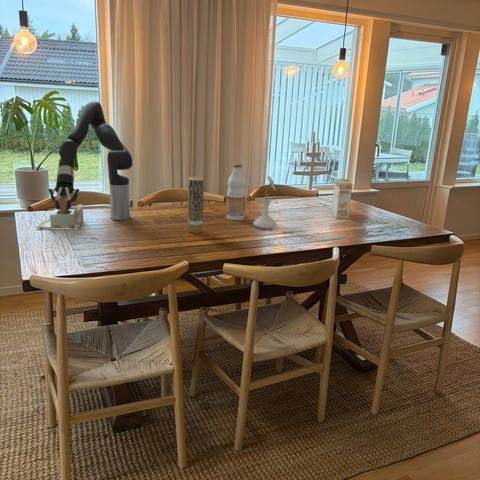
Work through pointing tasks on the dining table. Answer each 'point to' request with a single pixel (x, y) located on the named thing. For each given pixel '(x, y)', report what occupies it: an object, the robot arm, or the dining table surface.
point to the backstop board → (78, 222)
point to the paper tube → (195, 204)
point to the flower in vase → (266, 211)
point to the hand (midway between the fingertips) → (62, 208)
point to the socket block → (62, 218)
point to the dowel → (63, 205)
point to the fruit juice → (236, 194)
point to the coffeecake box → (341, 198)
